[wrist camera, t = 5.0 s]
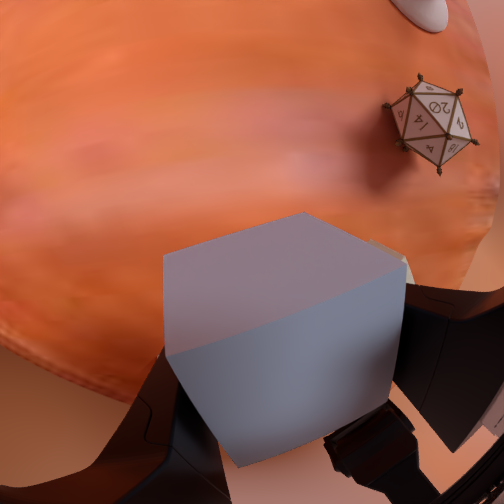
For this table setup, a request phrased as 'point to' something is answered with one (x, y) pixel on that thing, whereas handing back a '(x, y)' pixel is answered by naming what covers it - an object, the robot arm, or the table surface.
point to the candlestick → (425, 13)
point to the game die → (431, 122)
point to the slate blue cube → (282, 332)
